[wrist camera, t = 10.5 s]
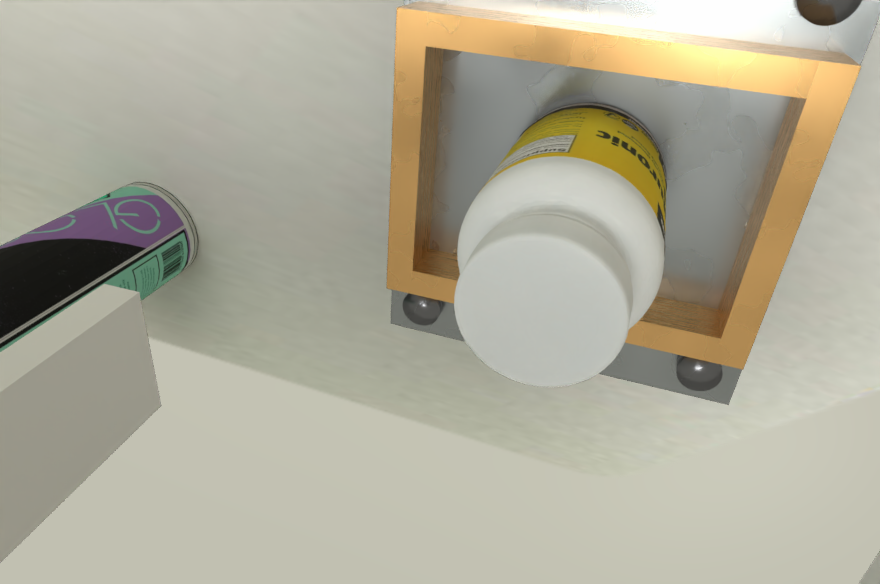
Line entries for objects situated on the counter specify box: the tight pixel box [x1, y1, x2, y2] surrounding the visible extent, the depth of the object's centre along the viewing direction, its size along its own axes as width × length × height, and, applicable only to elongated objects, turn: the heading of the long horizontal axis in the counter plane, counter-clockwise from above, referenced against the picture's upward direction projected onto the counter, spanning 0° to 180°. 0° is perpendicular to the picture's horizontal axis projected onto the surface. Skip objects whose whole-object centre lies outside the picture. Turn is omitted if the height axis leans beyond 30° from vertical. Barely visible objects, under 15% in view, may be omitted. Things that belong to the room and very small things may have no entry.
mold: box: [387, 0, 880, 405], centre depth 24 cm, size 14×16×7 cm
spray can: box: [0, 182, 198, 352], centre depth 28 cm, size 6×6×20 cm
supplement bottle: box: [454, 103, 667, 387], centre depth 19 cm, size 5×5×10 cm
